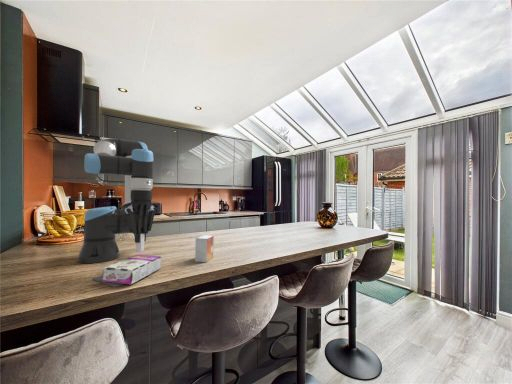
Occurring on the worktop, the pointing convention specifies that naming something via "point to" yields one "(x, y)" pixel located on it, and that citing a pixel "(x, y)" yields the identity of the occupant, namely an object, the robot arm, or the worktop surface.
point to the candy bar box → (131, 269)
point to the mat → (108, 282)
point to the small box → (204, 248)
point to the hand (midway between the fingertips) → (140, 250)
